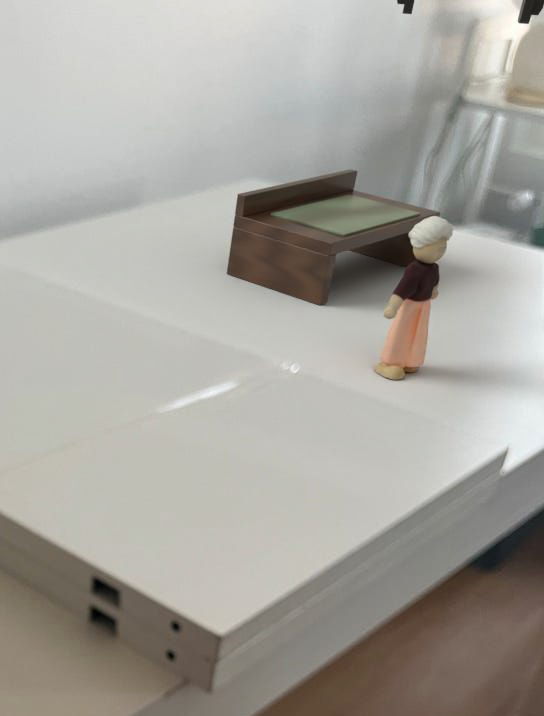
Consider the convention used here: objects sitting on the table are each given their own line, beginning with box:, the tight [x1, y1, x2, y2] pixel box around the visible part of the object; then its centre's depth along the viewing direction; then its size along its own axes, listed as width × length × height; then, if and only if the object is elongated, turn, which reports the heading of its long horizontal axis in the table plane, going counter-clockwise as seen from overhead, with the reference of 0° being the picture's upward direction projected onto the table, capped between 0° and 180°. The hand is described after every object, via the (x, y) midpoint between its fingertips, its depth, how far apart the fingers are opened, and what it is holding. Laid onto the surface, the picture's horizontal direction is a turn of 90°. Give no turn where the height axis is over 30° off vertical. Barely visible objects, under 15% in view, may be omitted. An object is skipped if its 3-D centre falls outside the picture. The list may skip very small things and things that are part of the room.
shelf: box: [226, 168, 441, 306], centre depth 109 cm, size 12×20×8 cm, turn 133°
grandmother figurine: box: [373, 216, 454, 381], centre depth 86 cm, size 8×4×13 cm, turn 147°
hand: (464, 18), depth 78 cm, fingers open, 8 cm apart
